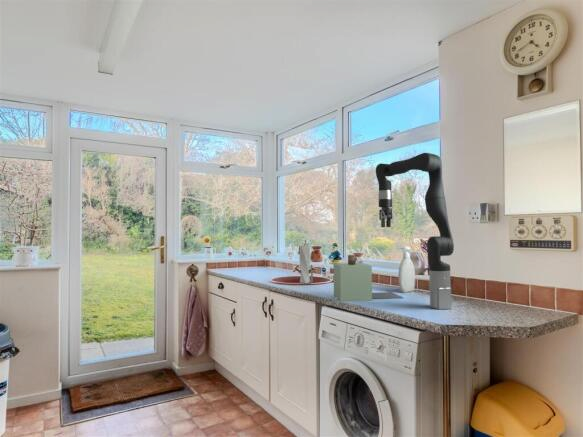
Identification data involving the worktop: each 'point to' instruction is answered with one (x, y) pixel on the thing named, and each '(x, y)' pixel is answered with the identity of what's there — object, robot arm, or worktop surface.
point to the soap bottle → (406, 273)
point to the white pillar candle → (305, 264)
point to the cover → (353, 280)
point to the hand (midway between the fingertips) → (385, 227)
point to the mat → (385, 295)
